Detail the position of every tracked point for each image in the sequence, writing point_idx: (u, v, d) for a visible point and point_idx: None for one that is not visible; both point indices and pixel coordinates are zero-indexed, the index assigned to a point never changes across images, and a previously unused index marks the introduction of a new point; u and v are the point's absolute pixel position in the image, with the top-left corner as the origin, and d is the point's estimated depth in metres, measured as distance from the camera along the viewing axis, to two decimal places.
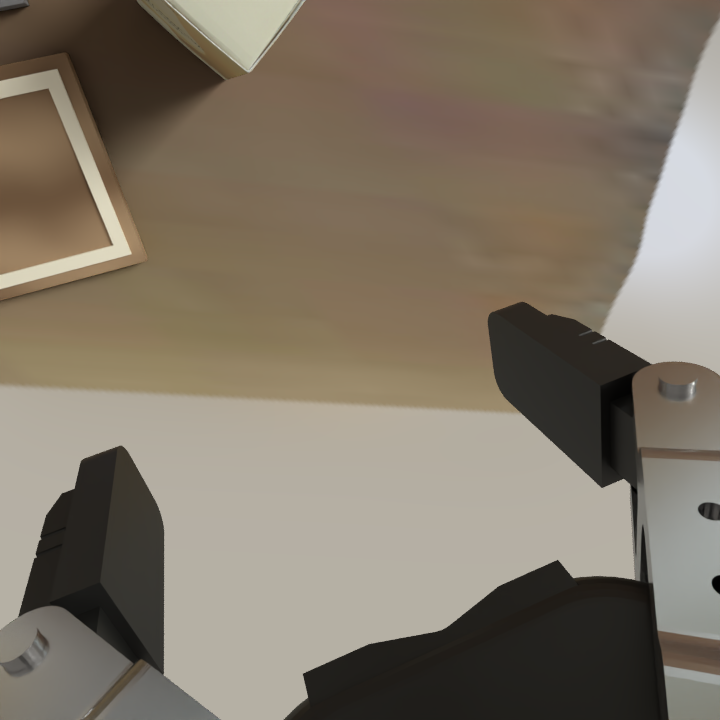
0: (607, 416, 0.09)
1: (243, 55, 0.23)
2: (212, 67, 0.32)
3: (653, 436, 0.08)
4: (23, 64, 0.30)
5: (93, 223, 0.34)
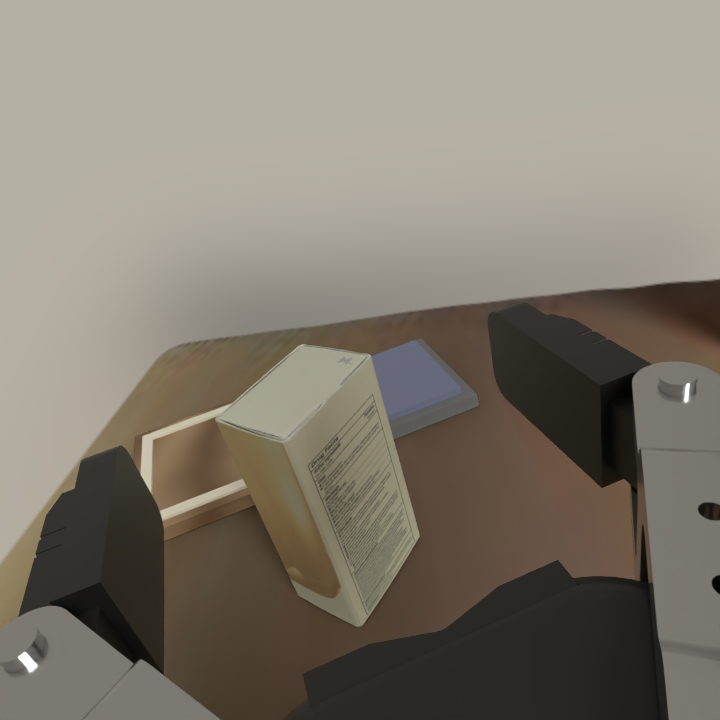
0: (607, 416, 0.09)
1: (229, 412, 0.24)
2: None
3: (653, 436, 0.08)
4: None
5: (175, 501, 0.37)
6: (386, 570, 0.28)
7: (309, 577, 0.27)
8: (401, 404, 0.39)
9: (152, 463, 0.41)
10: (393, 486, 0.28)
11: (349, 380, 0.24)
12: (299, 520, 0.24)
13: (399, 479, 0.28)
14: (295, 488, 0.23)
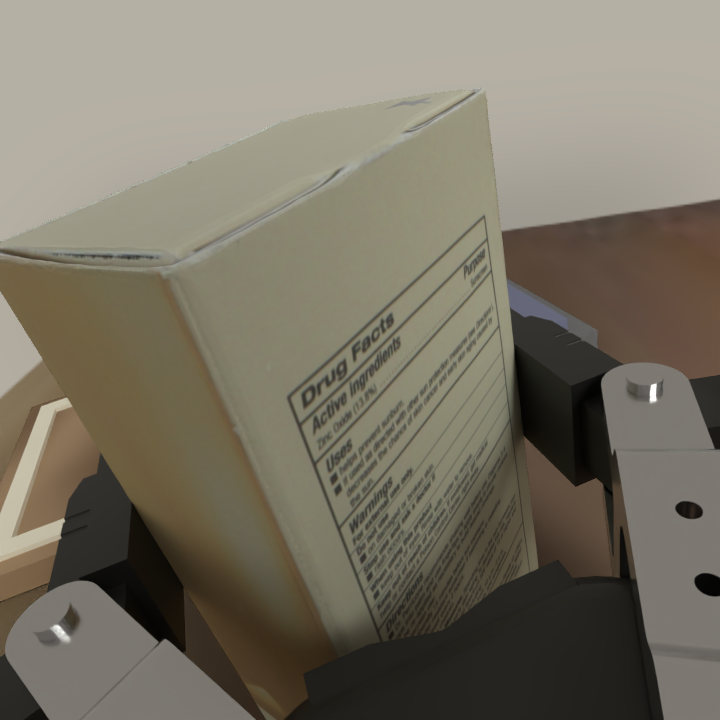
0: (578, 416, 0.09)
1: (31, 231, 0.07)
2: None
3: (625, 437, 0.08)
4: None
5: (61, 513, 0.20)
6: None
7: None
8: None
9: (43, 448, 0.24)
10: (508, 485, 0.11)
11: (431, 131, 0.07)
12: (266, 593, 0.07)
13: (521, 468, 0.12)
14: (240, 485, 0.06)
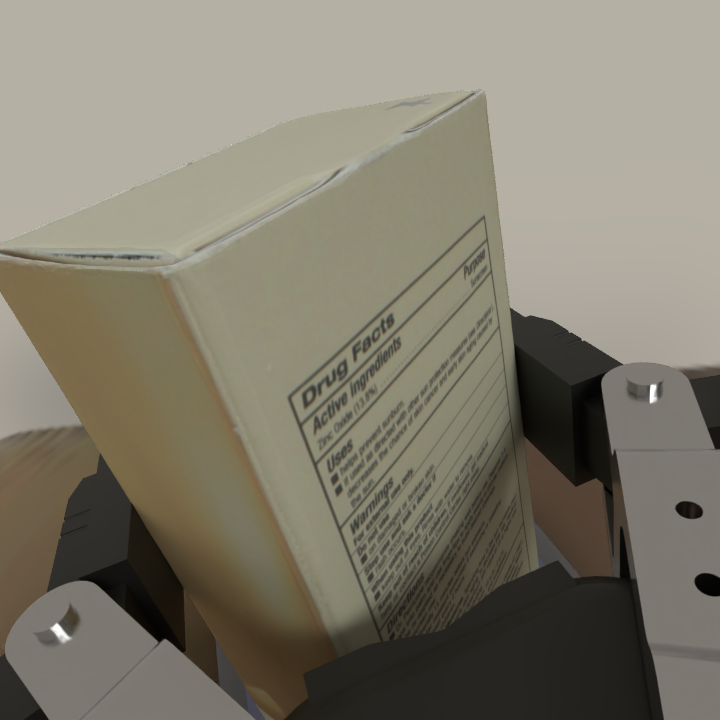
0: (579, 416, 0.09)
1: (31, 232, 0.07)
2: None
3: (626, 437, 0.08)
4: None
5: None
6: None
7: None
8: None
9: None
10: (509, 486, 0.11)
11: (431, 131, 0.07)
12: (267, 594, 0.07)
13: (521, 470, 0.12)
14: (241, 486, 0.06)
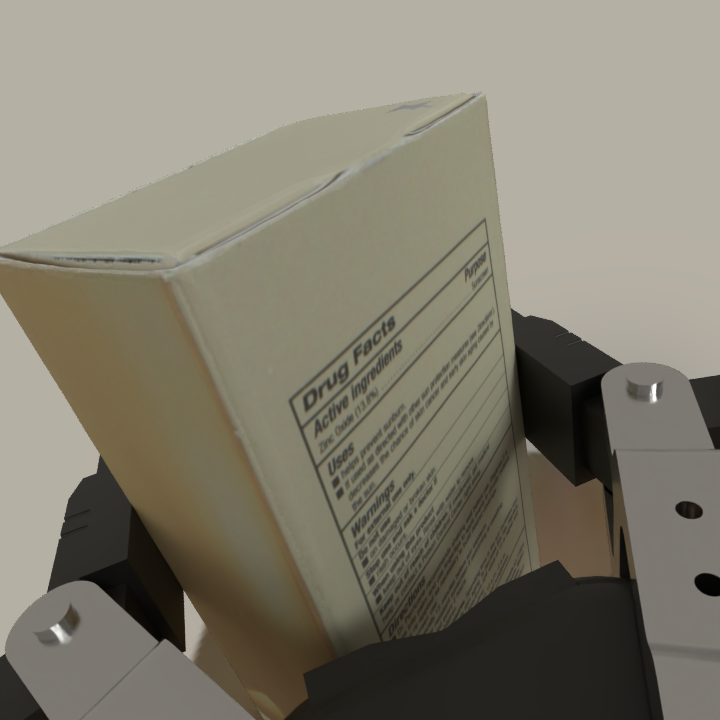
0: (578, 416, 0.09)
1: (32, 236, 0.07)
2: None
3: (625, 437, 0.08)
4: None
5: None
6: None
7: None
8: None
9: None
10: (510, 489, 0.11)
11: (431, 135, 0.07)
12: (268, 597, 0.07)
13: (523, 472, 0.12)
14: (243, 490, 0.06)
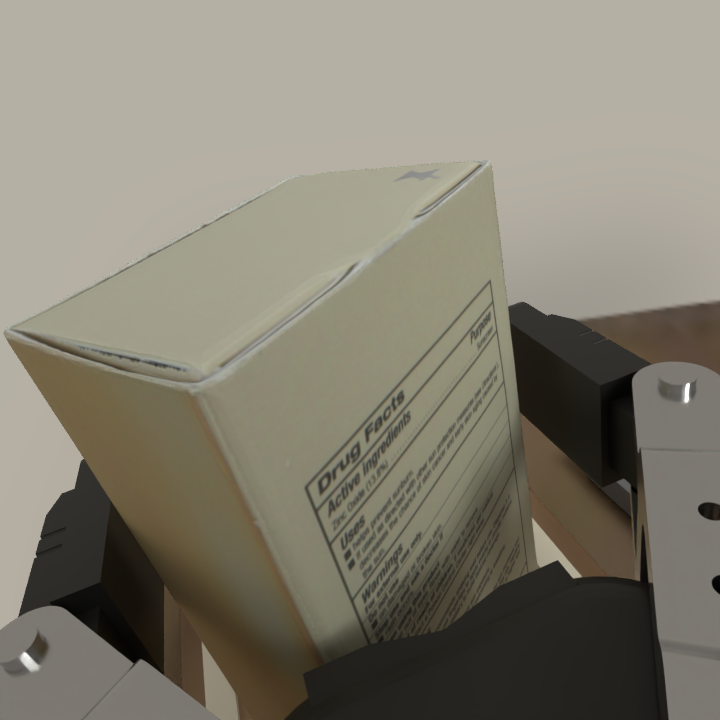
0: (607, 416, 0.09)
1: (54, 311, 0.07)
2: None
3: (653, 436, 0.08)
4: None
5: None
6: None
7: None
8: None
9: None
10: (513, 529, 0.11)
11: (439, 212, 0.07)
12: (280, 655, 0.08)
13: (524, 512, 0.12)
14: (260, 567, 0.06)
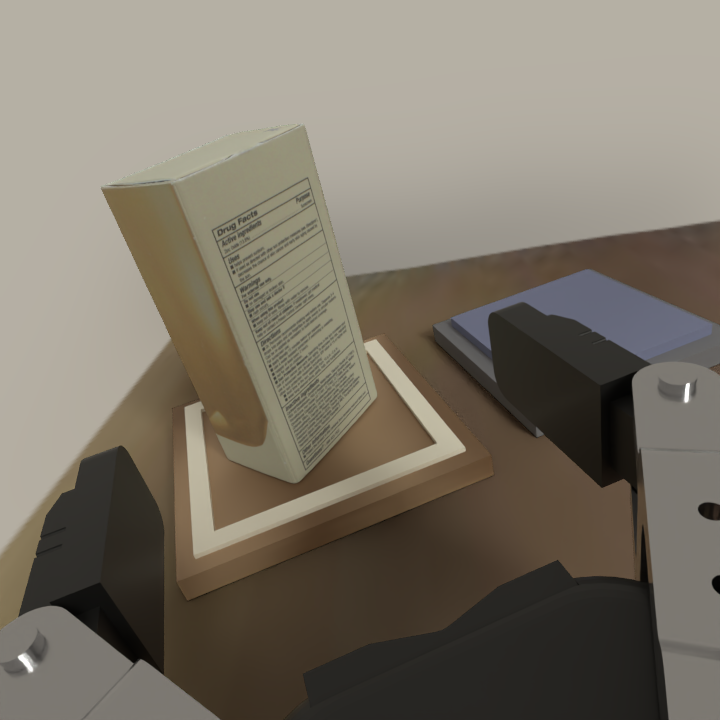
0: (607, 416, 0.09)
1: (120, 180, 0.19)
2: None
3: (653, 436, 0.08)
4: (460, 424, 0.23)
5: (253, 508, 0.21)
6: (331, 421, 0.23)
7: (233, 421, 0.22)
8: None
9: (205, 446, 0.26)
10: (339, 314, 0.23)
11: (273, 141, 0.19)
12: (210, 323, 0.19)
13: (349, 310, 0.23)
14: (197, 263, 0.17)
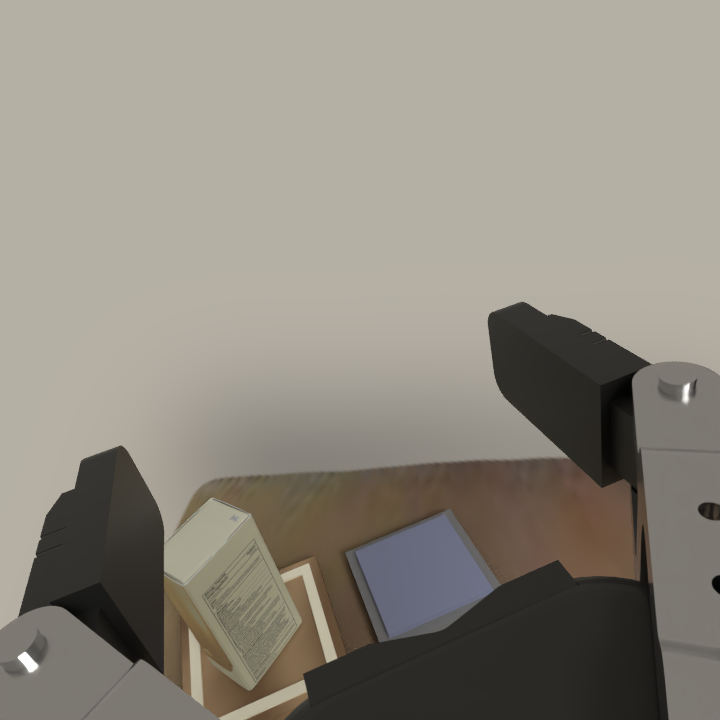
0: (607, 416, 0.09)
1: None
2: None
3: (653, 436, 0.08)
4: (343, 653, 0.41)
5: (226, 707, 0.39)
6: (271, 650, 0.41)
7: (215, 656, 0.40)
8: (436, 604, 0.42)
9: (200, 652, 0.43)
10: (274, 593, 0.40)
11: (233, 536, 0.36)
12: (201, 626, 0.37)
13: (281, 587, 0.41)
14: (195, 609, 0.35)
